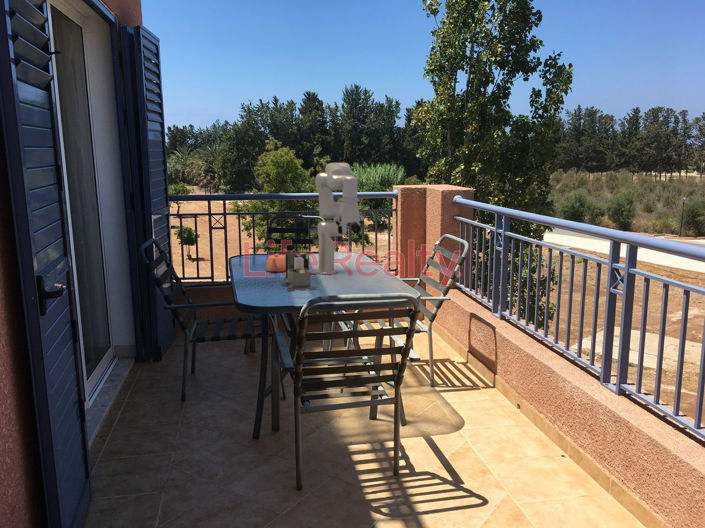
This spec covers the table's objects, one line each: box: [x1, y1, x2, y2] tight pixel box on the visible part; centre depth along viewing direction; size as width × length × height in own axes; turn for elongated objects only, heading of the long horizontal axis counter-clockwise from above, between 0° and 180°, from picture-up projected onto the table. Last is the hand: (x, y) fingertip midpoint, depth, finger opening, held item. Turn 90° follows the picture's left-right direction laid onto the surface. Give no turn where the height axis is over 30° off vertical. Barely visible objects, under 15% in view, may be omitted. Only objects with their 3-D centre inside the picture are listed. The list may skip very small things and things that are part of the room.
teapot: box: [265, 253, 286, 273], centre depth 341 cm, size 12×18×10 cm, turn 175°
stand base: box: [280, 268, 318, 292], centre depth 305 cm, size 16×16×10 cm
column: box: [294, 257, 304, 272], centre depth 304 cm, size 5×4×16 cm
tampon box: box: [285, 250, 310, 279], centre depth 324 cm, size 11×9×15 cm
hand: (348, 233), depth 295 cm, fingers open, 9 cm apart
